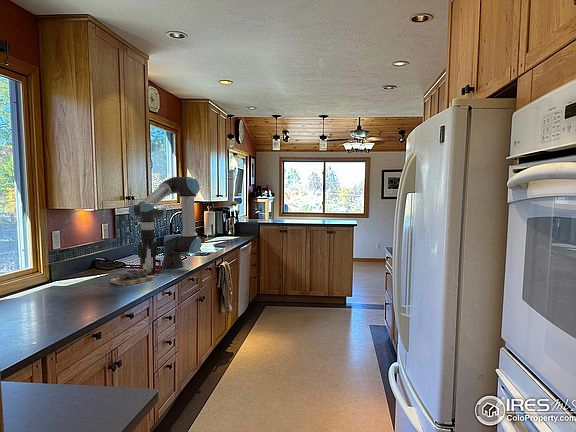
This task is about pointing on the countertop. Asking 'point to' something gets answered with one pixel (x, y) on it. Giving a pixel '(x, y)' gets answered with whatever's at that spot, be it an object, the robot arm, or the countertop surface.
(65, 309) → the countertop surface
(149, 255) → the steel pin
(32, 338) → the countertop surface
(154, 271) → the mug
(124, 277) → the chain ends
